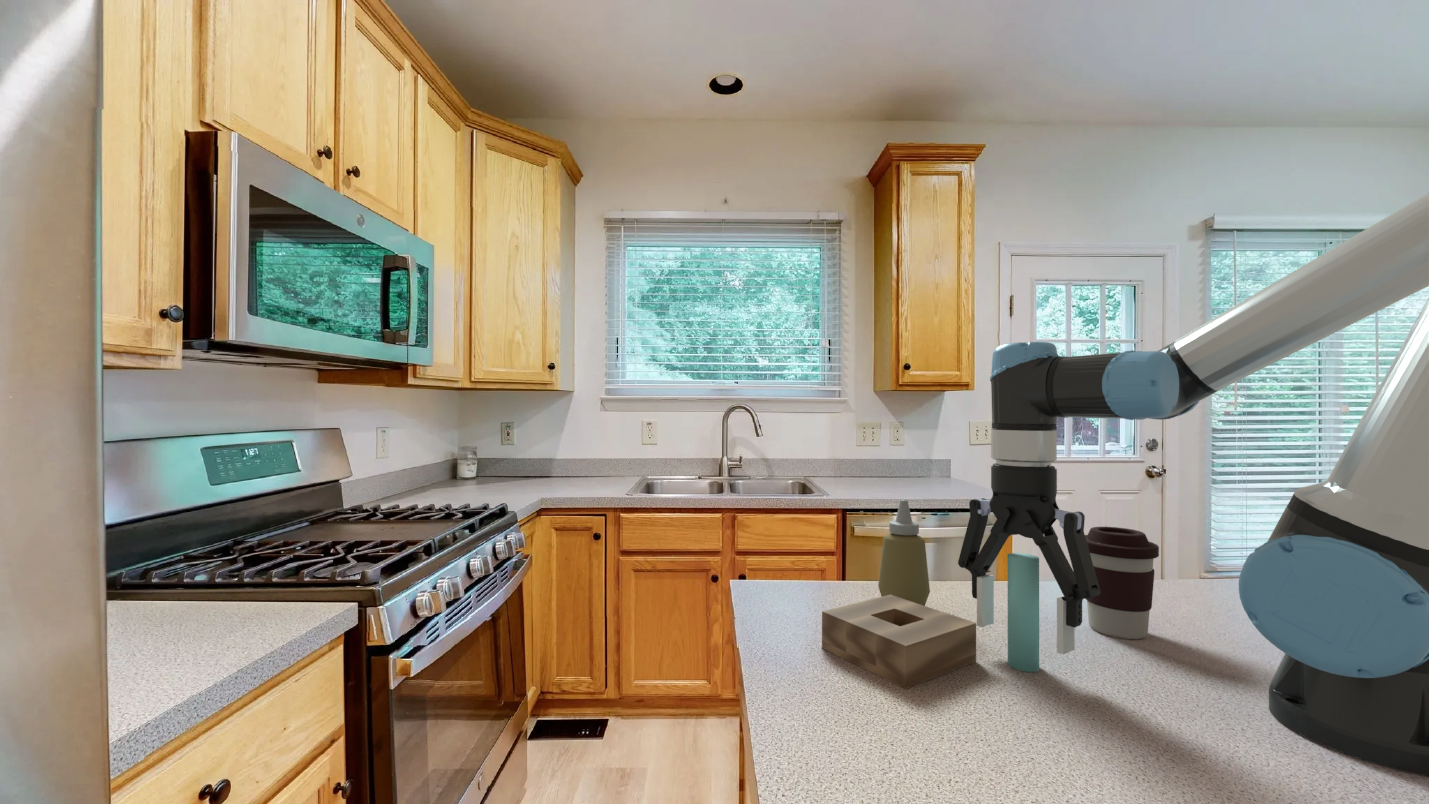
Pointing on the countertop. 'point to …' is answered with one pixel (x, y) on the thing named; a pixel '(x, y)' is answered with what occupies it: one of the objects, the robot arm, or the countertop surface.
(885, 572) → the squeeze bottle
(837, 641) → the bore block
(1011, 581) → the pin
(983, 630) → the countertop surface
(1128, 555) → the coffee cup
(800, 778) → the countertop surface
